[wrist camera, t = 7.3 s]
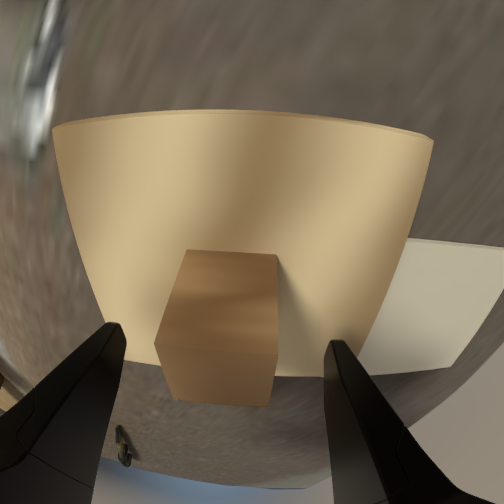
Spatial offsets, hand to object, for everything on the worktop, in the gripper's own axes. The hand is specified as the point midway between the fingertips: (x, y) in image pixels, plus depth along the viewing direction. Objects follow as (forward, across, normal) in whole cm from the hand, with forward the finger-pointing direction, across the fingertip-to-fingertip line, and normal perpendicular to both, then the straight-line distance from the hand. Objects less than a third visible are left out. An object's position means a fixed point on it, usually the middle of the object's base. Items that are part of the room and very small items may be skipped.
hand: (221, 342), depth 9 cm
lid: (+4, 0, 0) cm, 4 cm away
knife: (+9, +21, +46) cm, 51 cm away
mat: (+8, -14, +8) cm, 18 cm away
